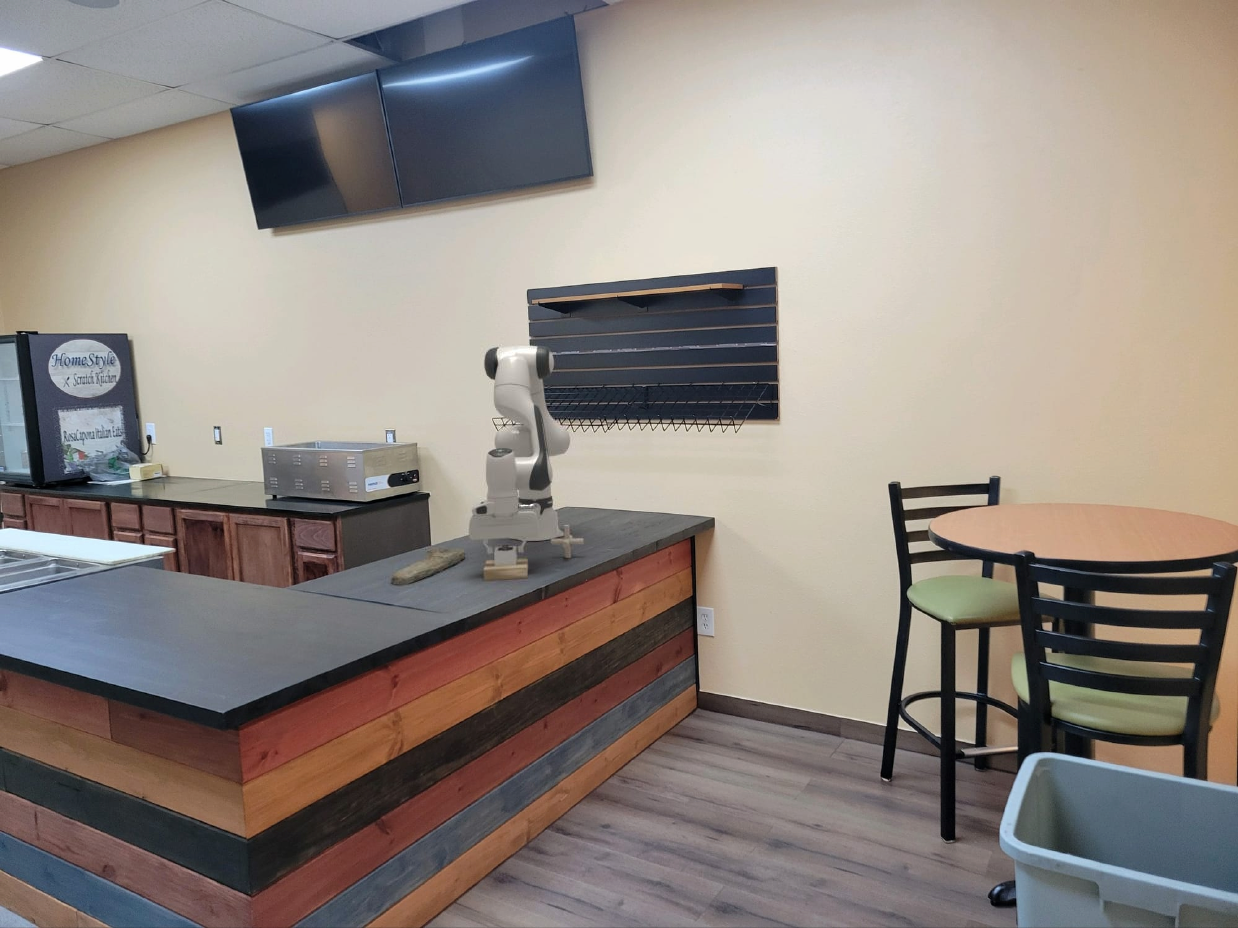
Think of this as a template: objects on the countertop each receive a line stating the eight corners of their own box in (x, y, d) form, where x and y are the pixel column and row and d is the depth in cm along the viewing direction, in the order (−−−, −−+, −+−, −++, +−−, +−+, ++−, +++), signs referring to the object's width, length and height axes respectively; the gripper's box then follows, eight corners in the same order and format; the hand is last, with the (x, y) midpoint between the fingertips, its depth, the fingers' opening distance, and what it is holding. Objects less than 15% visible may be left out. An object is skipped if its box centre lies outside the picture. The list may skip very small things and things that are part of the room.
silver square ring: (496, 561, 248) (495, 546, 248) (517, 560, 249) (516, 545, 248) (495, 566, 242) (494, 551, 242) (516, 565, 243) (515, 550, 242)
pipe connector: (586, 553, 268) (584, 522, 267) (581, 560, 259) (580, 528, 257) (554, 553, 269) (553, 522, 268) (549, 561, 260) (547, 529, 258)
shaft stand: (487, 570, 251) (485, 541, 250) (528, 567, 252) (526, 539, 251) (484, 580, 239) (482, 550, 238) (527, 577, 240) (525, 548, 239)
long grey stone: (382, 589, 240) (412, 593, 237) (380, 571, 239) (411, 575, 236) (445, 554, 272) (473, 557, 269) (444, 538, 271) (472, 541, 268)
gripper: (539, 502, 247) (542, 548, 249) (468, 505, 246) (471, 552, 247) (539, 505, 241) (541, 553, 243) (466, 509, 240) (469, 557, 241)
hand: (505, 553), depth 245 cm, fingers open, 7 cm apart
